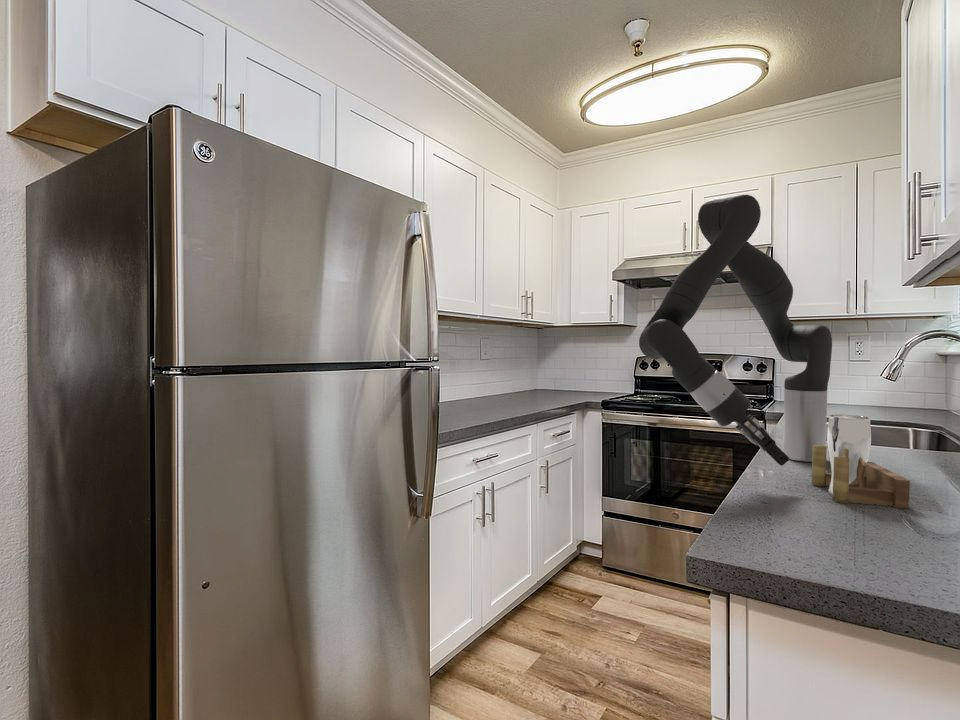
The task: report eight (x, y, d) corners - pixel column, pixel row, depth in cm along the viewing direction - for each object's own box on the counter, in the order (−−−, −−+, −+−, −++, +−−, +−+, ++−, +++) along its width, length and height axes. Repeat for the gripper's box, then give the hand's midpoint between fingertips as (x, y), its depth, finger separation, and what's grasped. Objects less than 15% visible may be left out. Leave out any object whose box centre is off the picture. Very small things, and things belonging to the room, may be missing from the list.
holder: (809, 482, 113) (810, 444, 113) (871, 486, 110) (872, 447, 110) (836, 503, 98) (837, 459, 98) (908, 508, 96) (910, 463, 95)
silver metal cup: (824, 487, 109) (826, 413, 109) (866, 492, 106) (869, 415, 105) (826, 496, 103) (828, 417, 102) (871, 501, 100) (874, 420, 99)
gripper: (740, 387, 102) (811, 456, 100) (727, 382, 115) (790, 443, 113) (709, 414, 104) (779, 482, 101) (700, 406, 117) (761, 467, 114)
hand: (784, 461), depth 107 cm, fingers closed
